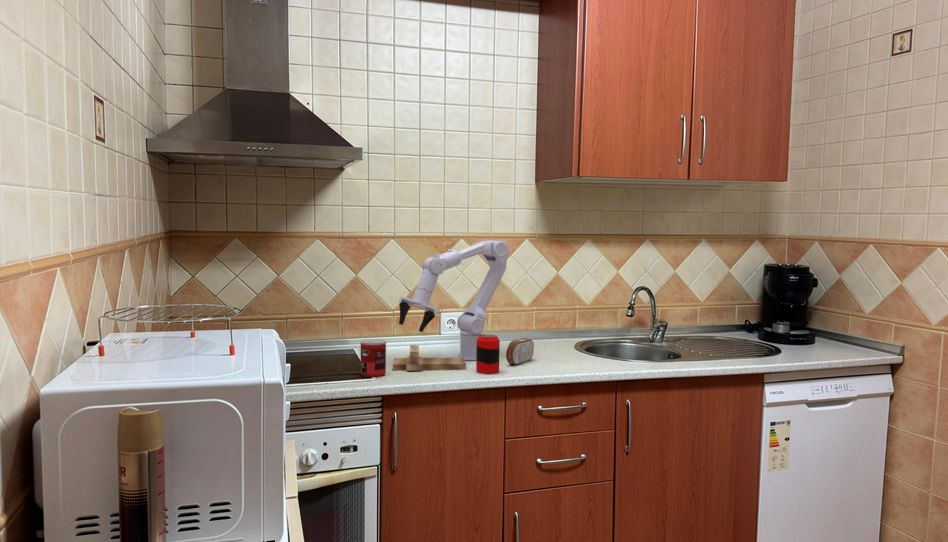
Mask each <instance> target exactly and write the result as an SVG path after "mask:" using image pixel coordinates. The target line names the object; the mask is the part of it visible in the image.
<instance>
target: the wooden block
mask: <svg viewBox="0 0 948 542" xmlns="http://www.w3.org/2000/svg"><path fill="white" fill-rule="evenodd" d="M419 347H420V345H419V344H418V345H416V344H414V345H411V344H410V345H409V355H406V358H407V370H406V372H409V371H410V372H412V371H414V372H418V371H419V372H420V371H421V372H422V371H423V370H422V358H423V356H422V355H420V348H419Z"/></svg>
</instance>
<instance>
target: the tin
mask: <svg viewBox="0 0 948 542" xmlns="http://www.w3.org/2000/svg"><path fill="white" fill-rule="evenodd" d="M534 346H535V345H534V341H533V340H532V339H531V338H528V337H527V338H526V337H521V338H518V339H512V340H511V341H510V343H509V344H508V346H507V347H506V348H507V349H506V352H505V353H506V354H505V355H506V357H505V358H506V362H507V363H508V364H510V365H513V364H514V366H517V365H516V364H518V365H521V364H524V363H523V362H525V363H527V362H526V361H528V362H530V360H531V359H532V358H533V355H534V350H535V349H534ZM520 363H521V364H520Z"/></svg>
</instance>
